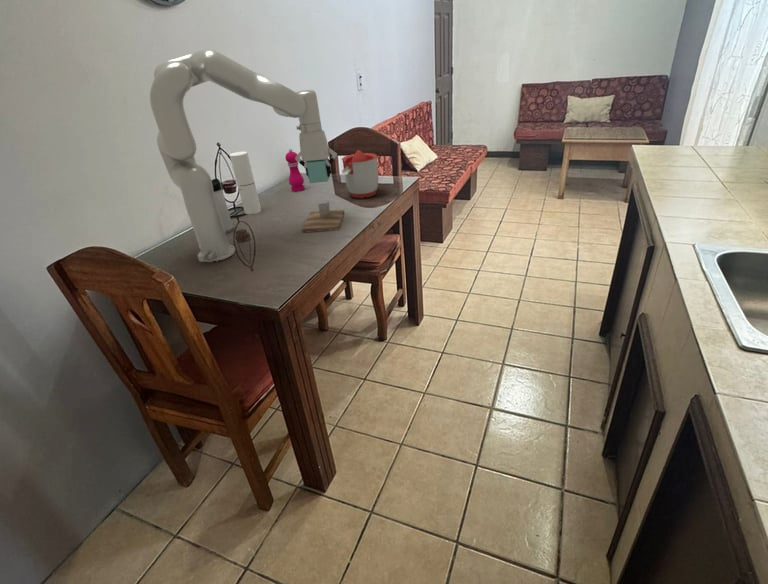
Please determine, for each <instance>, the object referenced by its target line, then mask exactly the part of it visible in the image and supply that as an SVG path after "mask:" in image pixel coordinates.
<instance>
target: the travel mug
mask: <svg viewBox="0 0 768 584" xmlns="http://www.w3.org/2000/svg"><path fill="white" fill-rule="evenodd" d="M211 181H212V185H213V191H214V196H215V200H216V203H217V207H218V210H219V213H220V216H221V220H222V223H223V226H224V230H225V233H226V234H229V233H231V232H232V231H233V230H234V226H233V225H234V224H233V222H232V219H231V216H230V212H229V208H228V205H227V201H226V198H225V195H224V189H223V187H222V185H221V181H220V179H219V178H213V179H211Z"/></svg>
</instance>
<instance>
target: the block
mask: <svg viewBox="0 0 768 584" xmlns="http://www.w3.org/2000/svg"><path fill="white" fill-rule="evenodd" d="M330 208H331V207H330V202H329V199H327V200H325V199H324V200H319V201H318V212H319V211H320V217H328V216H330V211H331V209H330Z"/></svg>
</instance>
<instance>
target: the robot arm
mask: <svg viewBox="0 0 768 584" xmlns="http://www.w3.org/2000/svg"><path fill="white" fill-rule="evenodd" d="M153 76H154V78H153V80H152V83H151V87H150V90H149V91H150V92H149V101H150V107H151V111H152V113H153V116H154V119H155V124H156V126H157V128H158V133H157V136H156V143H157V147H158V150H159V152H160V156H161V158H162V160H163V162H164V165H165V168H166V170H167V173H168V176H169V178H170V180H171V181H172V182H173V184H174V185H175V186H176V187H178V188H179V189H180V191H181V194H182V198H183V201H184V202H183V203H184V206H185V209H186V212H187V215H188V218H189V220H190V224H191V226H192V229H193V233H194V235H195V238H196V241H197V244H198V247H199V250H200V251H199V252H198V254H197V259H198V261H199V262H200V263H214V262H213V261H216V262H219V260H220V261H223V260H225V259H228V258H230V257H231V256H233V255H234V254H235V252H236V247H235V246H234V245H232V244H230V243H229V241H228V237H227V233H225V230H224V226H223V223H222V220H221V216H220V213H219V210H218V207H217V203H216V200H215V196H214V191H213V185H212V181H211V180H212V179H211V176H210V174H209V172H207V170H206V169H205V168H204V167H203V166H202V165H200V164H198V163H197V162H196V161H197V160H196V158H195V155H196V151H197V144H196V140H195V137H194V135H193V133H192V131H191V127H190V124H189V122H188V118H187V115H186V111H185V108H184V99H185V96H186V95H187V94H186V93H188V92H189V91H190V90H191V88H192V87H195V86H198V85H201V84H204V83H206V82H211V83H212V84H213V83H214V84H216V85H218V86H219V87H221V88H224V89H225V90H228V91H230V92H232V93H234V94H235V95H238V96H239V97H241V98H244V99H247V100H249V101H253V102H257V103H261V104H264V105H266V106H270V107H271V108H272V110H273V112H275V113H276V114H277V115H278V116H281V117H285V118H293V119H298V121H299V125H295V126H296V130H297V131H298V130H299V131H300V132H299V136H298V137H299V138H298V139H299V140H298V141H299V149H300V151H299V152H298V153H297V156H296V157H295V160H297V162H298V164H300V166H303V168H304V169H305V175H306V177H308V179H309V175H308V170H307V165H306V162H308V161H320V160H325V163H326V165H327V166H326V169H327V175H328V177H329V178H330V177H331V175H332V167H331V164H332V163H333V162H334V161H335V159H336V158H337V156H338V153H337V152H335V150H334V149H331V148H330V147H329V143H328V140H327V135H326V133H325V132H326V131H325V130H324V129H323V127H322V121H321V115H320V110H319V109H320V108H319V104H318V103H319V102H318V97H317V93H316V91H315V90H314V89H304V90H298V91H297V92H296V91H295V90H292V89H290V88H288V87H287V86H285V85H283V84H281V83H279V82H277V81H275V80H272V79H270V78H269V77H267V76H264V75H262V74H260V73H258V72H256V71H253V70H252V69H249V68H248V67H246V66H244V65H242V64H240V63H238V62H237V61H235V60H233V59H231V58H230V57H227V56H226V55H224V54H222V53H220V52H218V51H216V50H214V49H209V48H208V49H203V50H197V51H195V52H191V53H189V54H185V55H183V56H180V57H176V58H173V59H169V60H165V61H163V62H159V64H157V65H156V67H155V69H154V72H153ZM330 155H331V158H329V157H330Z"/></svg>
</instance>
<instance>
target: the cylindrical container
mask: <svg viewBox="0 0 768 584" xmlns="http://www.w3.org/2000/svg"><path fill="white" fill-rule="evenodd" d="M229 159H230V162H231V166H232V169H233V170H232V171H233V173H234V176H235V177H234V178H235V180H236V185H237V188H238V192H239V196H240V200H241V203H242V208H243V211H244V214H245V215H246V214H247V215H255V214H258V213H260V212H261V211H262V207H261V204H260V200H259V199H260V198H259V195H258V190H257V186H256V182H255V179H254V174H253V172H252V166H251V163H250V159H249V154H248V152H247V151H236V152H232V153H230V154H229Z"/></svg>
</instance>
